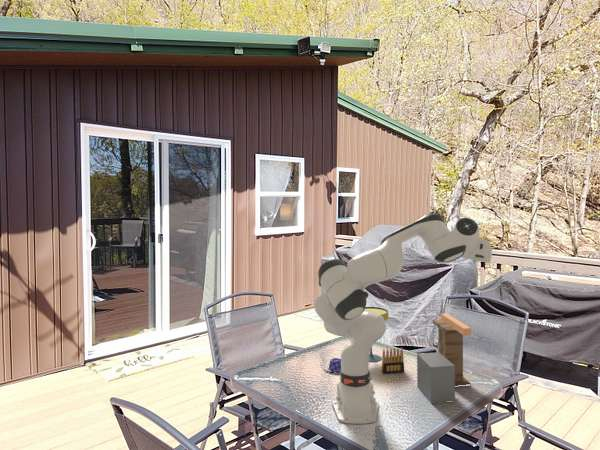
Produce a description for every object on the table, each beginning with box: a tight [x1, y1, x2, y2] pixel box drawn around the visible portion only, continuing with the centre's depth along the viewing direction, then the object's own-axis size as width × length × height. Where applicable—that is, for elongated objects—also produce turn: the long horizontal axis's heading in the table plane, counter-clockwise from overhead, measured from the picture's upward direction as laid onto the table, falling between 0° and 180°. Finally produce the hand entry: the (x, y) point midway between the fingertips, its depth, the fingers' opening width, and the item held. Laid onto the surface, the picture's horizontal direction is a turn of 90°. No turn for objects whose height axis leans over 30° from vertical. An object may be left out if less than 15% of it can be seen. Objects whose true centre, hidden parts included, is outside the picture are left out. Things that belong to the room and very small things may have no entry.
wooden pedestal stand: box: [432, 319, 471, 386], centre depth 206 cm, size 16×12×26 cm
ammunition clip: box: [381, 347, 405, 375], centre depth 217 cm, size 11×2×12 cm, turn 99°
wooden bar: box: [440, 313, 472, 337], centre depth 200 cm, size 24×3×3 cm, turn 5°
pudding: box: [328, 357, 341, 375], centre depth 223 cm, size 12×12×5 cm
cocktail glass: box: [364, 306, 389, 363], centre depth 237 cm, size 18×18×25 cm
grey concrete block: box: [416, 352, 456, 404], centre depth 193 cm, size 16×10×15 cm, turn 5°
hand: (462, 258), depth 180 cm, fingers open, 8 cm apart
